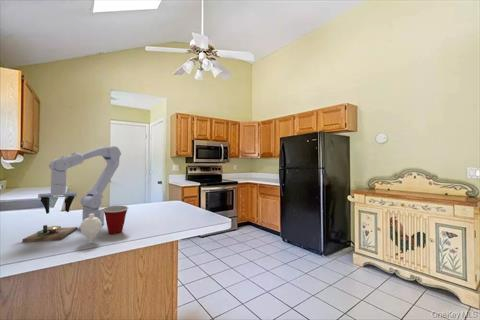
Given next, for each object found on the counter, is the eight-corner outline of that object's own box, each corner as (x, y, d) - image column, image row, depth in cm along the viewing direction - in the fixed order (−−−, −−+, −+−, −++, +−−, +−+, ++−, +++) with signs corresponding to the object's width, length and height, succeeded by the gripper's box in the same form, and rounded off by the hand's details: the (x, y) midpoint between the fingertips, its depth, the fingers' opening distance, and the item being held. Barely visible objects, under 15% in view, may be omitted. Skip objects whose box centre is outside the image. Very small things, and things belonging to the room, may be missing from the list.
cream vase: (98, 245, 94) (99, 215, 94) (76, 246, 92) (77, 216, 92) (103, 239, 101) (104, 211, 102) (83, 240, 99) (84, 212, 99)
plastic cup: (101, 237, 103) (101, 210, 104) (102, 231, 113) (103, 206, 113) (128, 234, 108) (128, 208, 109) (127, 228, 118) (128, 204, 118)
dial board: (77, 229, 115) (77, 223, 115) (61, 239, 100) (61, 233, 100) (44, 231, 112) (44, 225, 112) (22, 242, 96) (22, 235, 96)
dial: (48, 227, 108) (48, 220, 108) (63, 226, 109) (63, 220, 109) (35, 233, 99) (36, 226, 99) (52, 232, 100) (52, 225, 100)
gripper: (78, 182, 117) (77, 209, 117) (41, 183, 111) (40, 212, 110) (75, 184, 111) (75, 212, 111) (36, 185, 104) (36, 215, 104)
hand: (57, 212), depth 110 cm, fingers open, 7 cm apart
